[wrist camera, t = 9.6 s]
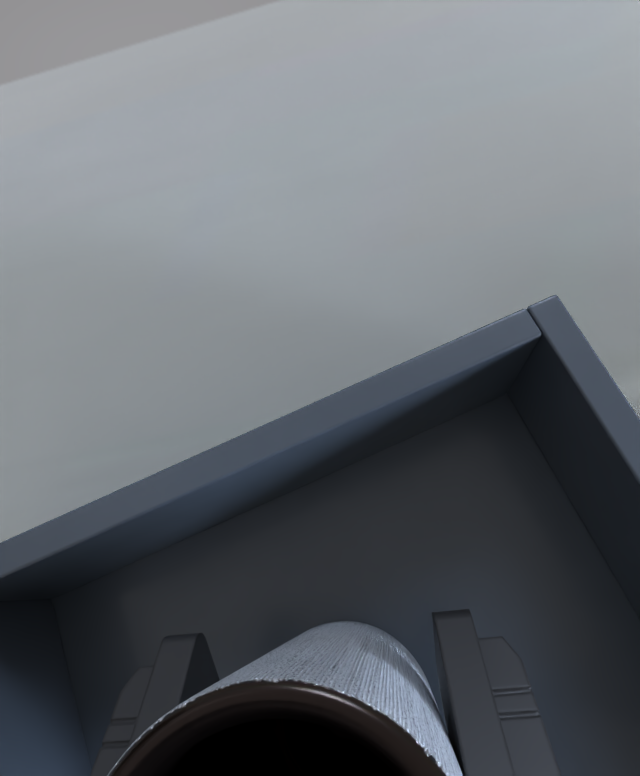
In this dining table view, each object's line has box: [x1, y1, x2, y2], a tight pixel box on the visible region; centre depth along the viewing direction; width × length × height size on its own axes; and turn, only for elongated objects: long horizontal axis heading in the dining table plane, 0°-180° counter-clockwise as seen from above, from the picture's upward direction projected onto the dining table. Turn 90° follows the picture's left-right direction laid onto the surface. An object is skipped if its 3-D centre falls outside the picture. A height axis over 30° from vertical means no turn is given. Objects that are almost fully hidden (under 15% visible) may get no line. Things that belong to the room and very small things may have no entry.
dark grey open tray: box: [0, 295, 640, 776], centre depth 13 cm, size 17×16×5 cm
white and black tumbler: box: [107, 621, 463, 776], centre depth 10 cm, size 4×4×10 cm
